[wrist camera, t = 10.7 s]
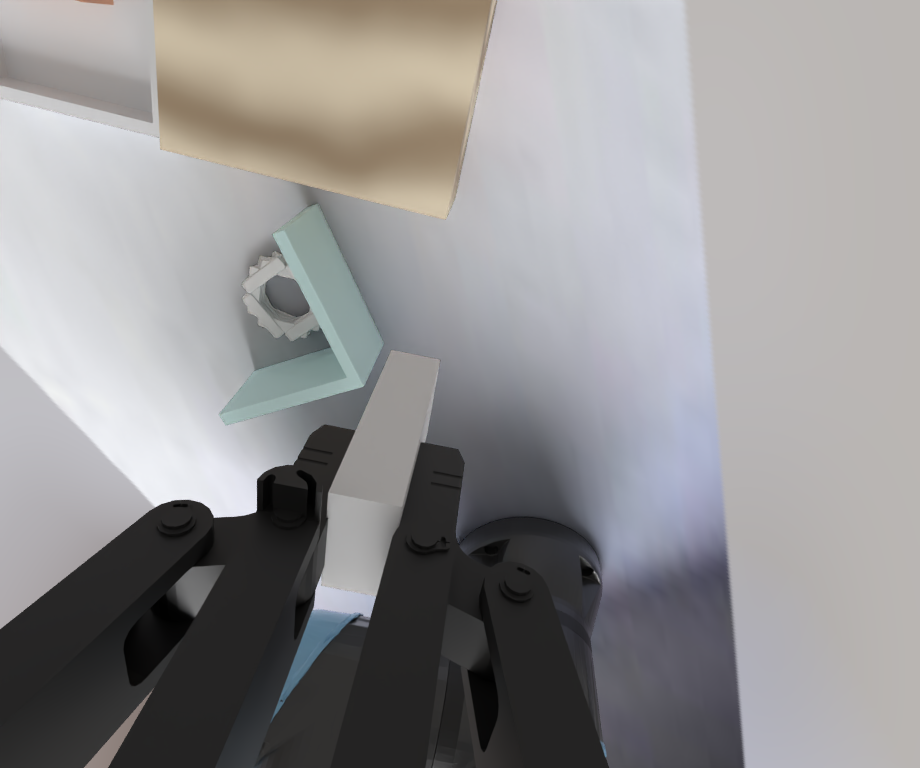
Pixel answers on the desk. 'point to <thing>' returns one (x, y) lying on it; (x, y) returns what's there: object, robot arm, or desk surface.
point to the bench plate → (326, 91)
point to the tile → (98, 1)
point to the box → (82, 60)
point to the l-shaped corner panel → (307, 323)
